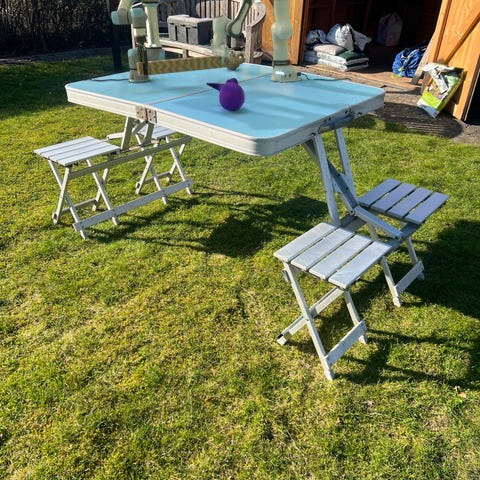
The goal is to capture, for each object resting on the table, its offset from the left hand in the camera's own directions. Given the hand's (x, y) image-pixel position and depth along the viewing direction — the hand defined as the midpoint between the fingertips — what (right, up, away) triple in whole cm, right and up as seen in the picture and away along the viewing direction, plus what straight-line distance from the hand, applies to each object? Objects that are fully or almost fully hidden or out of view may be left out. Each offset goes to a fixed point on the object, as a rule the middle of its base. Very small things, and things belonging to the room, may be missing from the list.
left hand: (144, 74), depth 296 cm
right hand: (+49, +16, +22) cm, 56 cm away
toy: (+56, -32, -32) cm, 72 cm away
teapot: (+57, +32, +77) cm, 101 cm away
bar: (+25, +6, +12) cm, 28 cm away
